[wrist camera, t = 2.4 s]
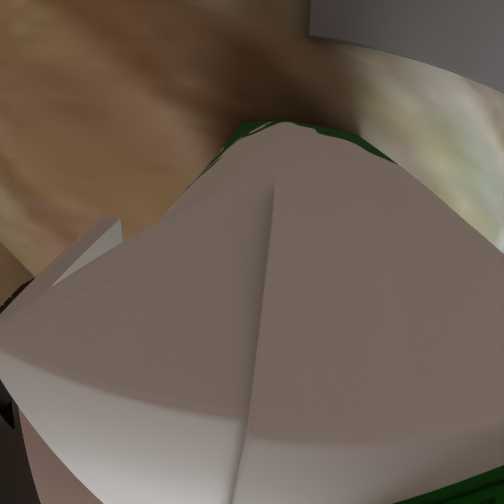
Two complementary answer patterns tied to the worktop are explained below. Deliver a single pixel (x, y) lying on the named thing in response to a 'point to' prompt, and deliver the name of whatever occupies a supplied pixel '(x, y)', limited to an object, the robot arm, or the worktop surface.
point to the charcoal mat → (421, 32)
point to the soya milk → (277, 340)
